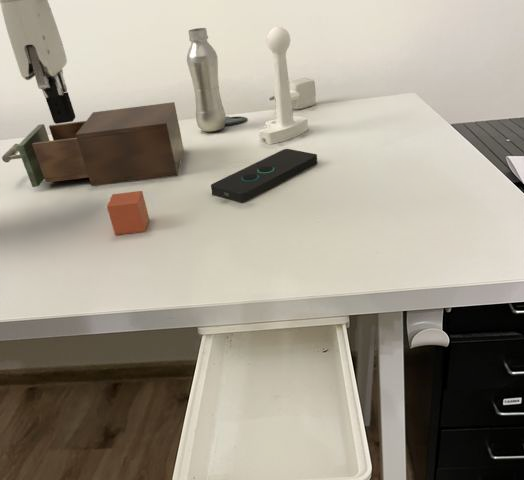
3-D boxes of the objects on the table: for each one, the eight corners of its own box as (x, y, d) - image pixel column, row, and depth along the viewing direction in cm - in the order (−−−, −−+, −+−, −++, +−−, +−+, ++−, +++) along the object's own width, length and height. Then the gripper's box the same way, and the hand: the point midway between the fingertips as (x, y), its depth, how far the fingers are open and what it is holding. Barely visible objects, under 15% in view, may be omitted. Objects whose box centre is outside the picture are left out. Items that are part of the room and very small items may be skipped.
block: (115, 235, 86) (106, 206, 83) (120, 222, 90) (112, 194, 87) (145, 231, 86) (137, 202, 83) (149, 218, 89) (142, 190, 87)
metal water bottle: (205, 125, 128) (189, 27, 115) (232, 125, 125) (218, 25, 113) (193, 134, 123) (175, 33, 111) (220, 135, 121) (204, 31, 108)
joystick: (273, 145, 111) (263, 33, 99) (249, 139, 116) (237, 31, 104) (312, 129, 117) (306, 21, 104) (288, 124, 121) (279, 20, 109)
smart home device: (208, 184, 94) (284, 147, 104) (209, 194, 95) (285, 156, 105) (242, 193, 89) (319, 153, 99) (243, 203, 90) (319, 163, 101)
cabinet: (91, 185, 104) (75, 134, 99) (106, 159, 116) (92, 112, 110) (177, 175, 104) (166, 123, 98) (183, 150, 115) (174, 102, 109)
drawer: (6, 190, 105) (-11, 149, 100) (28, 165, 116) (13, 127, 111) (111, 177, 104) (100, 135, 99) (123, 154, 115) (113, 115, 110)
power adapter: (279, 117, 127) (277, 89, 123) (268, 113, 130) (265, 86, 127) (318, 105, 131) (317, 78, 127) (306, 102, 134) (305, 76, 131)
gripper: (10, -15, 83) (53, 112, 94) (-25, -5, 71) (29, 139, 83) (59, -23, 83) (96, 105, 94) (32, -14, 71) (78, 131, 82)
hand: (65, 120), depth 88 cm, fingers closed
